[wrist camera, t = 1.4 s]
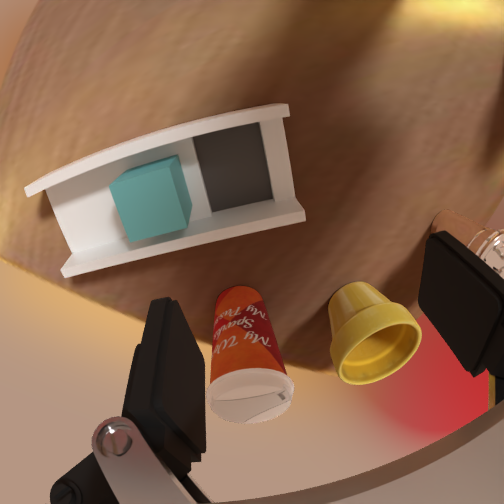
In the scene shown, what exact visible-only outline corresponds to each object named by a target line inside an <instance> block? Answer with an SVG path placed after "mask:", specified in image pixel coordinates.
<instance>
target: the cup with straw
mask: <svg viewBox="0 0 504 504" xmlns="http://www.w3.org/2000/svg"><path fill="white" fill-rule="evenodd" d="M443 230H445V231H447V232H448V233H450V234H451V235H452V236H454V237H455V238H456V239H457V240H459V241H460V242H461V243H463V244H464V245H465V246H466V247H467V248H469V249H470V250H471V251H472V252H474V253H475V254H476V255H477V256H478V257H479V258H481V259H482V260H483V261H484V262H485V263H486V264H488V265H489V266H490V267H491V268H492V269H493V270H494V271H496V272H497V273H498V274H499V275H500V276H501V277H502V278H503V279H504V229H500V230H497V231H496V230H494V229H490V228H487V227H484V226H482V225H480V224H478V223H476V222H474V221H472V220H470V219H468V218H466V217H464V216H462V215H460V214H458V213H456V212H453V211H451V210H449V209H446V210H443V211H441V212H440V213H438V214H437V216H436V217H435V219H434V220H433V223H432V226H431V234H432V233H435V232H439V231H443Z"/></svg>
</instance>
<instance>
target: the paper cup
mask: <svg viewBox="0 0 504 504" xmlns="http://www.w3.org/2000/svg"><path fill="white" fill-rule="evenodd" d="M293 392H294V384H293V381H292V380H291V379H290V377H288V376H287V373H286V370H285V367H284V364H283V361H282V357H281V354H280V351H279V348H278V344H277V341H276V338H275V335H274V332H273V329H272V326H271V323H270V320H269V317H268V313H267V310H266V307H265V305H264V302H263V299H262V297H261V295H260V294H259V293H258V292H257V291H256V290H255V289H253V288H250V287H247V286H234V287H231V288H228V289H226V290H225V291H223V292H222V293H221V294H220V295H219V297H218V299H217V302H216V307H215V317H214V329H213V344H212V361H211V378H210V385H209V387H208V388H207V392H206V398H207V401H208V404H209V405H210V407H211V410H212V411H213V412H214V413H216V414H217V415H218V416H219V417H220V418H222V419H224V420H227V421H230V422H235V423H241V424H252V423H259V422H264V421H268V420H270V419H273V418H275V417H277V416H279V415H281V414H282V413H284V412H285V411H286V410H287V409H288V408H289V406H290V404H291V401H292V395H293Z"/></svg>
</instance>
